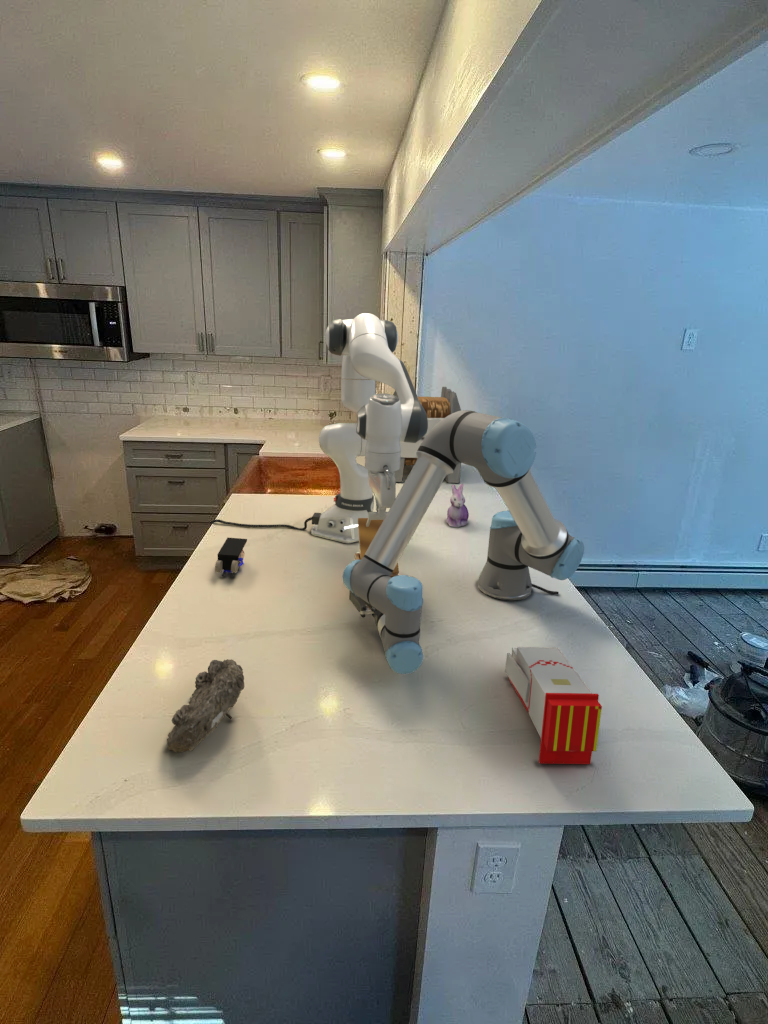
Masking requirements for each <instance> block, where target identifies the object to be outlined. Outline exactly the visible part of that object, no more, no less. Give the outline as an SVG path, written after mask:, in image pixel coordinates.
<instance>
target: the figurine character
mask: <svg viewBox="0 0 768 1024" xmlns="http://www.w3.org/2000/svg"><path fill="white" fill-rule="evenodd" d="M247 542H248V538H240V537H226V539H225V541H224V543H223V544H222V546H221V547H220V549H219V551H218V552H217V560H216V562H215V564H214V572H215V573H221V577H222V578H224V577H225V576H226V574H227V573H230V574H231V573H232V574H231V578H234V577H235V575H236V573H237V572H239V571H240V567H242V566H243V565H244V564H245V562H244V558H245V551H244V547H245V546H246V544H247Z"/></svg>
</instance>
